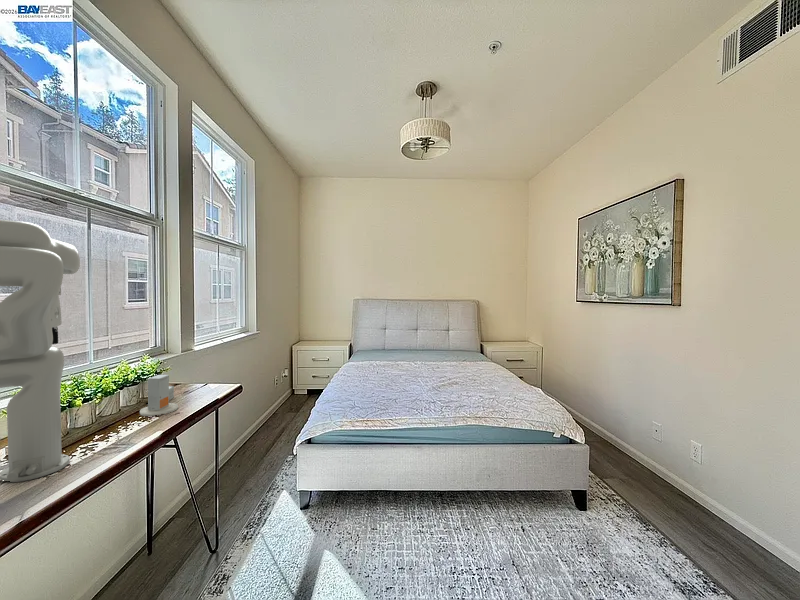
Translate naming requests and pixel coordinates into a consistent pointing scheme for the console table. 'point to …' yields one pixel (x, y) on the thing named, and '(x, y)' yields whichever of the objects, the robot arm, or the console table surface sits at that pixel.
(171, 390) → the small box
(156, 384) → the skincare box
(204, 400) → the console table surface
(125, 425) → the console table surface
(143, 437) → the console table surface
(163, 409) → the ceramic dish
